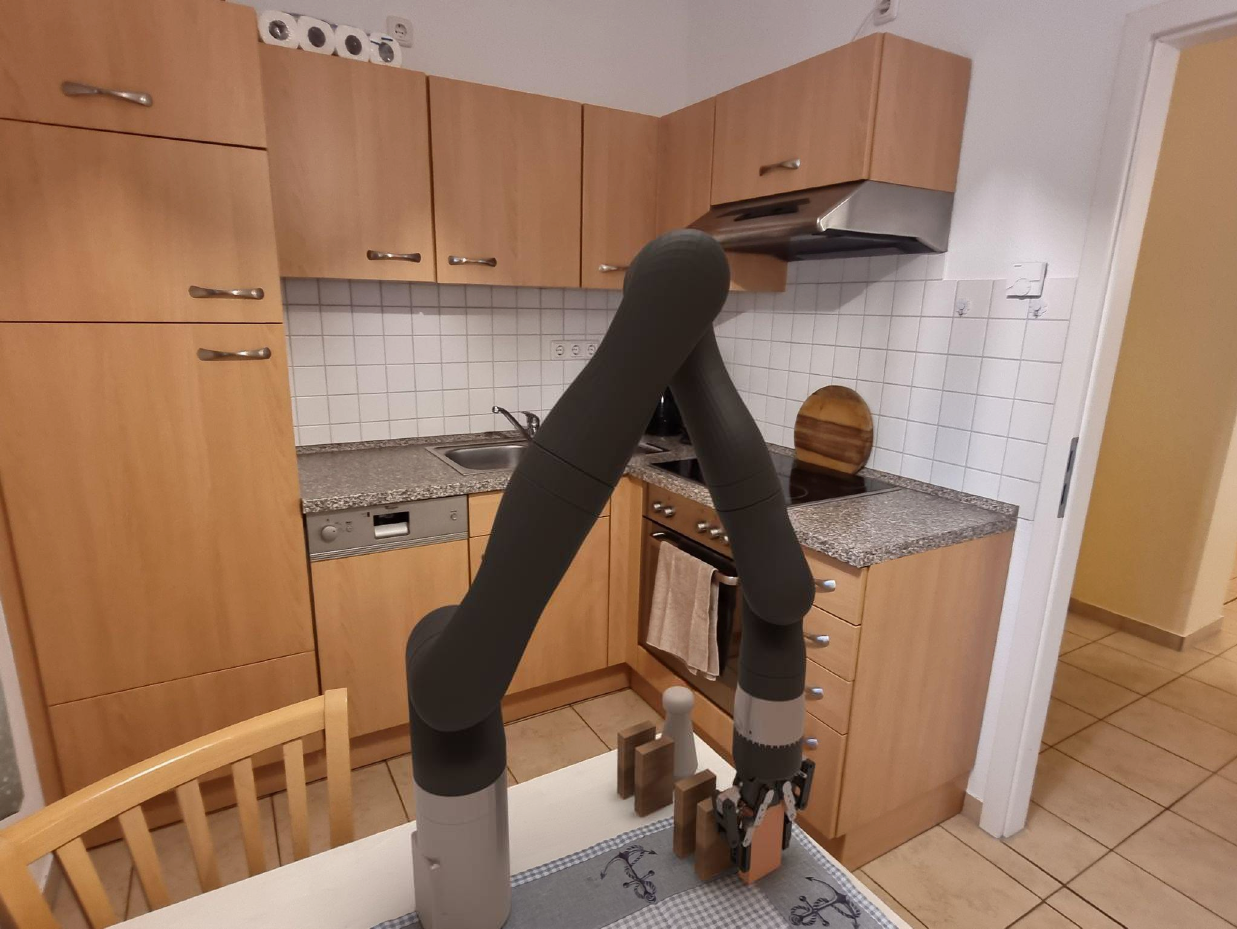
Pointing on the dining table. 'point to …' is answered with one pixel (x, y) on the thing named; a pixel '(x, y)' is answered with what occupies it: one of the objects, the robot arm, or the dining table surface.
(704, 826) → the domino
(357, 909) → the dining table surface
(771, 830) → the domino
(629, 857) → the dining table surface
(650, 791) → the domino
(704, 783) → the domino
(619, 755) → the domino
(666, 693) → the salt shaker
